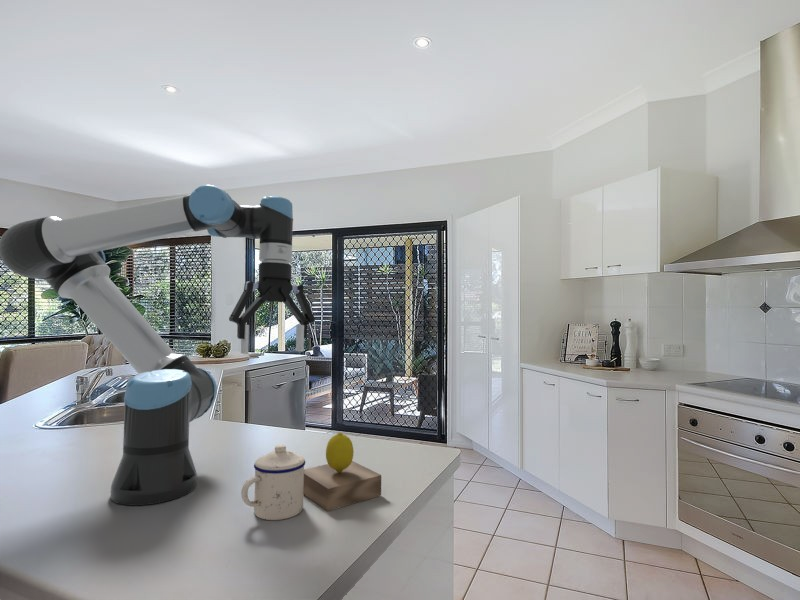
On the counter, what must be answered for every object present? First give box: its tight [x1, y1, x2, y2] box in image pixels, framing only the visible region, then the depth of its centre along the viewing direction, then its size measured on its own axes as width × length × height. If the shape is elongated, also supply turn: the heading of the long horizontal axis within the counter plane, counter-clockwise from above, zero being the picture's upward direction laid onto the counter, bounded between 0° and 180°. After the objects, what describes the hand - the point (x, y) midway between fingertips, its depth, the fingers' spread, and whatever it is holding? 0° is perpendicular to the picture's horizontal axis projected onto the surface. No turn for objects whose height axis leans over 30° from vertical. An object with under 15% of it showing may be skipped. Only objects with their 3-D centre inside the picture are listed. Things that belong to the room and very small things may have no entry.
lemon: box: [325, 432, 355, 473], centre depth 90 cm, size 6×6×8 cm
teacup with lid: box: [240, 444, 306, 521], centre depth 80 cm, size 12×9×12 cm
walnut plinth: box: [303, 460, 382, 512], centre depth 90 cm, size 12×12×4 cm
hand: (273, 352), depth 105 cm, fingers open, 13 cm apart
